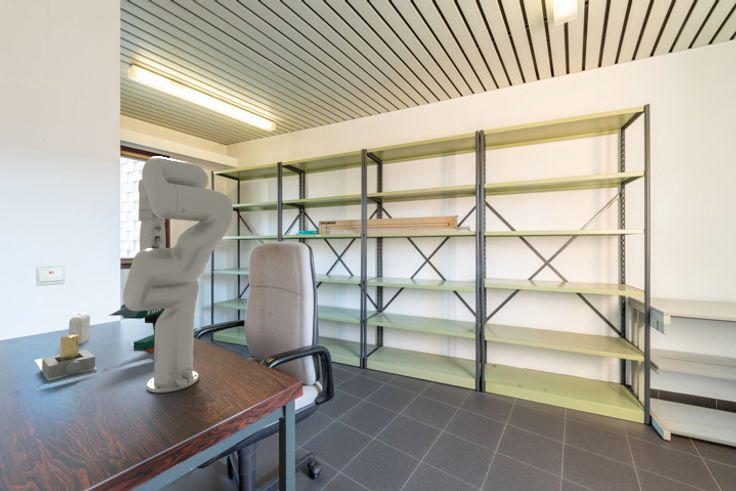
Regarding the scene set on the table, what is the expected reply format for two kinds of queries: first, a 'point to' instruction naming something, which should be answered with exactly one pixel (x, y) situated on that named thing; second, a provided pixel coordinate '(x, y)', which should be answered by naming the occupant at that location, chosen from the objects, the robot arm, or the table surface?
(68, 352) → the tan rectangular block
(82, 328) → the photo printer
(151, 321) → the power tool
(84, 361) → the grey slotted block
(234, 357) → the table surface
